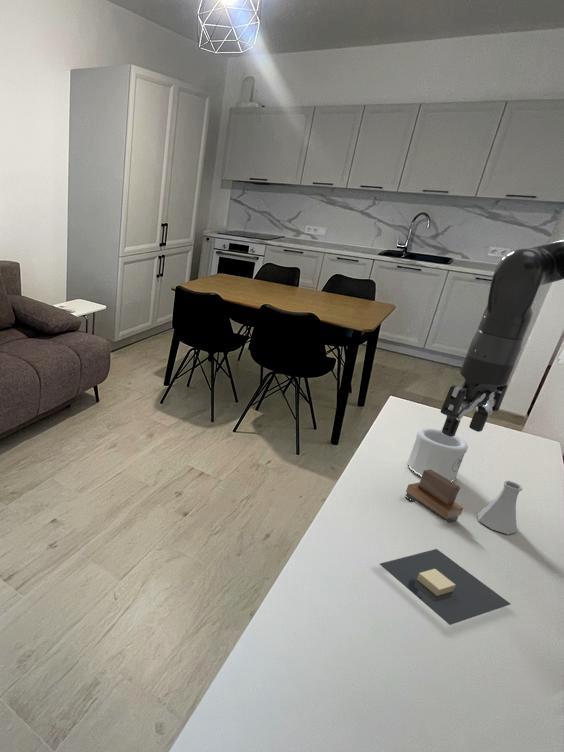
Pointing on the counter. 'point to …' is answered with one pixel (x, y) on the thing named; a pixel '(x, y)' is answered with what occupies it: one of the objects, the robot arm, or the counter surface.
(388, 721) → the counter surface
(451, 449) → the mug
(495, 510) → the flask
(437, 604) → the slate tile
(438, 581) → the felt pad
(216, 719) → the counter surface
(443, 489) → the brush
